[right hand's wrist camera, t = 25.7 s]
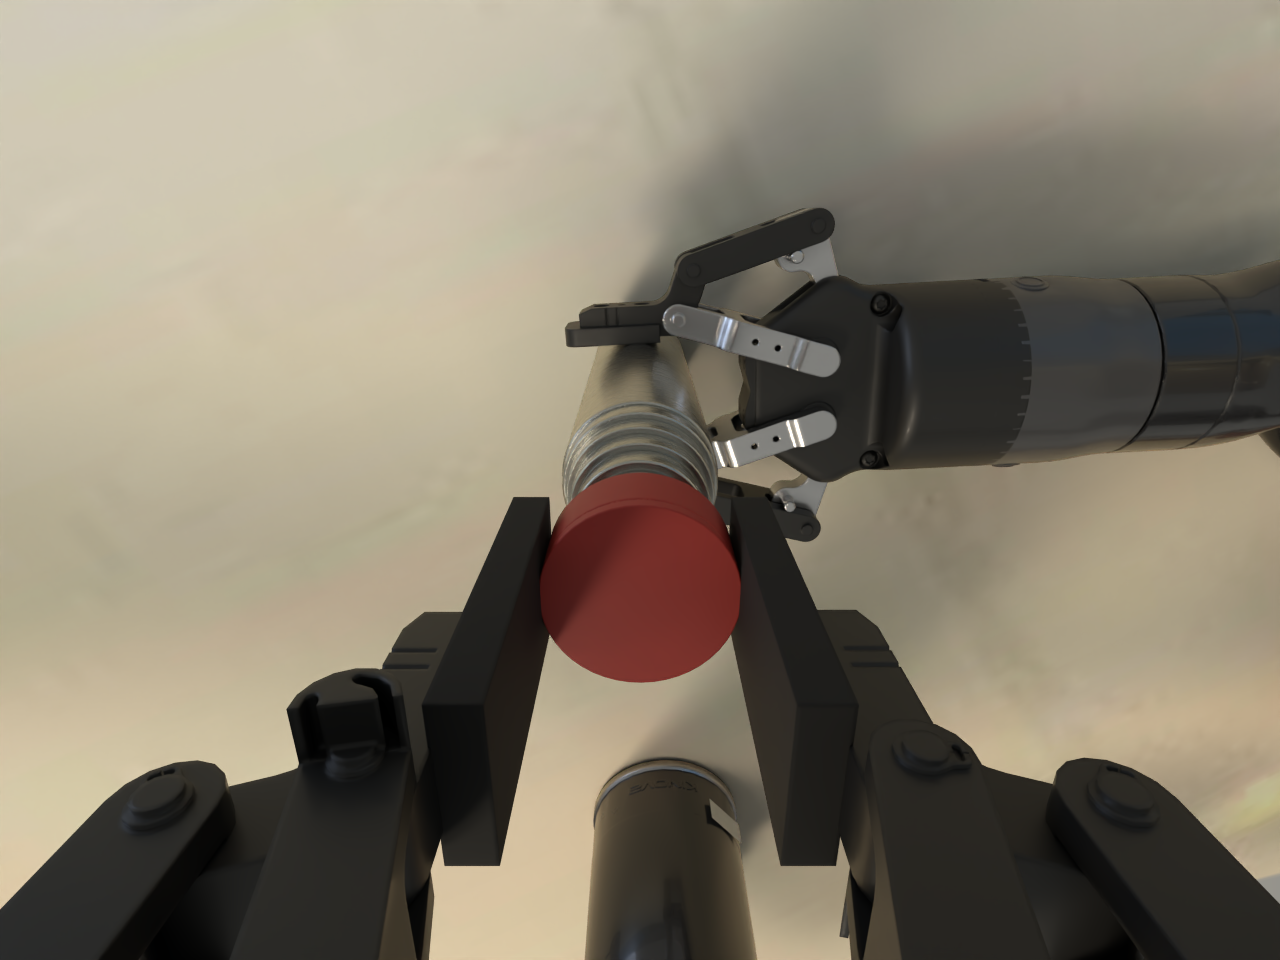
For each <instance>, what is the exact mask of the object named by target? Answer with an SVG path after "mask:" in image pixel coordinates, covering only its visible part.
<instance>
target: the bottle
mask: <svg viewBox="0 0 1280 960" xmlns="http://www.w3.org/2000/svg"><path fill="white" fill-rule="evenodd" d="M626 473H653V474H659V475H665V476H668V477H671V478H674V479H677V480H679V481H681V482H684V483H686V484H688V485H689V486H691V487H693V488H694V489H696V490H698V491H699V492H700V493H701V494H702V495H704V496H705V497H706V498H707V499H708V500H709V501H710V502H711V503H712V504H713V505H714V504H715V501H716V497H717V490H718V466H717V460H716V456H715V452H714V449H713V446H712V442H711V439H710V436H709V433H708V430H707V426H706V423H705V420H704V417H703V414H702V410H701V407H700V404H699V401H698V398H697V394H696V391H695V388H694V385H693V382H692V378H691V375H690V372H689V369H688V366H687V362H686V359H685V356H684V353H683V350H682V346H681V343H680V341H679V339H678V337H677V336H660V343H648V344H629V345H609V346H599V347H598V350H597V353H596V356H595V360H594V363H593V366H592V369H591V372H590V376H589V379H588V382H587V385H586V389H585V392H584V395H583V398H582V401H581V405H580V408H579V411H578V414H577V418H576V421H575V424H574V427H573V430H572V434H571V437H570V440H569V443H568V447H567V450H566V453H565V456H564V462H563V473H562V476H563V484H562V486H563V495H564V499H565V504H566V506H567V505H568V504H569V503H570V502H571V500H572V499H573V498H575V497H576V496H577V495H578V494H579V493H580V492H582V491H583V490H585V489H586V488H588V487H589V486H591V485H593V484H595V483H597V482H599V481H601V480H603V479H606V478H609V477H612V476H616V475H621V474H626Z"/></svg>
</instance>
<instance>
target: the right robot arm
mask: <svg viewBox="0 0 1280 960" xmlns="http://www.w3.org/2000/svg"><path fill="white" fill-rule="evenodd" d="M729 536H730V540H731V543H732V547H733V550H734V554H735V558H736V561H737V565H738V568H739V572H740V577H741V590H740V606H739V617H738V621H737V623H736V625H735V627H734V630H733V631H732V633H731V636H732V641H733V646H734V650H735V655H736V660H737V664H738V669H739V674H740V678H741V683H742V688H743V692H744V697H745V702H746V706H747V711H748V716H749V720H750V725H751V730H752V734H753V739H754V744H755V748H756V753H757V758H758V762H759V767H760V772H761V776H762V781H763V786H764V790H765V795H766V800H767V804H768V809H769V814H770V818H771V823H772V828H773V832H774V837H775V841H776V846H777V851H778V855H779V860H780V865H781V866H836V862H837V855H838V848H839V841H840V837H841V840H842V843H843V846H844V850H845V853H846V856H847V859H848V862H849V865H850V871H849V877H848V884H847V890H846V897H845V903H844V910H843V916H842V923H841V930H840V937H845V938H848V936H849V938H850V949H851V960H1280V904H1279V903H1278V902H1277V901H1276V900H1275V899H1274V898H1273V897H1272V896H1271V895H1270V893H1269V892H1268V891H1267V890H1266V889H1265V888H1264V887H1263V886H1262V885H1261V884H1260V883H1259V882H1258V881H1257V880H1256V879H1255V878H1254V877H1253V876H1252V875H1251V874H1250V873H1249V872H1248V871H1247V870H1246V869H1245V868H1244V867H1243V866H1242V865H1241V864H1240V863H1239V862H1238V861H1237V860H1236V859H1235V858H1234V856H1233V855H1232V854H1231V853H1230V852H1229V851H1228V850H1227V849H1226V848H1225V847H1224V846H1223V845H1222V844H1221V843H1220V842H1219V841H1218V840H1217V839H1216V838H1215V837H1214V836H1213V835H1212V834H1211V833H1210V832H1209V831H1208V830H1207V829H1206V828H1205V827H1204V826H1203V825H1202V824H1201V823H1200V822H1199V820H1198V819H1197V818H1196V817H1195V816H1194V815H1193V814H1192V813H1191V812H1190V811H1189V810H1188V809H1187V808H1186V807H1185V806H1184V805H1183V804H1182V803H1181V802H1180V801H1179V800H1178V799H1177V798H1176V797H1175V796H1173V795H1172V794H1171V793H1170V792H1169V791H1167V790H1166V789H1165V788H1164V787H1162V786H1161V785H1160V784H1159V783H1158V782H1156V781H1154V780H1152V779H1151V778H1149V777H1147V776H1145V775H1143V774H1141V773H1140V772H1138V771H1136V770H1134V769H1132V768H1129V767H1126V766H1123V765H1120V764H1117V763H1114V762H1111V761H1108V760H1101V759H1091V758H1080V759H1076V760H1071V761H1066V762H1065V763H1064V764H1063V765H1062V766H1061V767H1060V768H1059V769H1058V770H1057V772H1056V775H1055V779H1054V782H1053V784H1050V783H1046V782H1042V781H1037V780H1033V779H1029V778H1025V777H1021V776H1016V775H1012V774H1008V773H1004V772H1001V771H998V770H995V769H991V768H988V767H986V766H984V765H982V764H981V762H980V761H979V759H978V757H977V756H976V754H975V753H974V751H973V749H972V748H971V747H970V746H969V745H968V744H967V743H965V742H964V741H963V740H962V739H961V738H959V737H958V736H957V735H956V734H954V733H952V732H950V731H948V730H946V729H944V728H942V727H940V726H938V725H936V724H933V722H932V720H931V719H930V717H929V715H928V714H927V712H926V710H925V708H924V707H923V705H922V703H921V701H920V700H919V698H918V696H917V694H916V693H915V691H914V689H913V687H912V686H911V684H910V682H909V680H908V679H907V677H906V675H905V673H904V672H903V670H902V668H901V667H899V666H898V661H897V659H896V658H895V656H894V654H893V652H892V651H891V650H889V645H888V644H887V642H886V640H885V638H884V637H883V635H882V633H881V632H880V630H879V628H878V627H877V626H876V625H875V624H874V623H872V622H871V621H870V620H868V619H867V618H866V617H865V616H863V615H862V614H861V613H859V612H858V611H857V610H817V609H816V606H815V604H814V602H813V600H812V597H811V595H810V593H809V591H808V588H807V586H806V584H805V582H804V579H803V577H802V575H801V573H800V570H799V568H798V566H797V564H796V561H795V559H794V557H793V555H792V552H791V550H790V548H789V546H788V543H787V541H786V539H785V537H784V534H783V532H782V530H781V528H780V525H779V523H778V521H777V519H776V516H775V514H774V512H773V510H772V507H771V505H770V503H769V501H768V498H767V497H731V512H730V531H729ZM550 538H551V520H550V501H549V497H513V500H512V502H511V504H510V506H509V509H508V511H507V513H506V515H505V518H504V520H503V522H502V524H501V527H500V529H499V531H498V533H497V536H496V538H495V540H494V542H493V545H492V547H491V549H490V551H489V554H488V556H487V558H486V561H485V563H484V565H483V567H482V570H481V572H480V574H479V576H478V579H477V581H476V583H475V585H474V588H473V590H472V592H471V594H470V597H469V599H468V601H467V603H466V606H465V608H464V610H463V612H424V613H423V614H421V615H420V616H419V617H418V618H416V619H415V620H414V621H413V622H411V623H410V624H409V625H407V626H406V627H405V628H404V629H403V630H402V632H401V633H400V635H399V637H398V639H397V641H396V642H395V644H394V646H393V648H392V652H391V653H389V655H388V656H387V658H386V660H385V662H384V663H383V668H382V669H380V670H379V669H357V668H356V669H351V670H347V671H342V672H338V673H334V674H331V675H329V676H327V677H325V678H322V679H320V680H318V681H316V682H313V683H312V684H311V685H309V686H308V687H307V688H305V689H304V690H303V691H301V692H300V693H299V694H297V695H296V697H295V698H294V699H293V701H292V702H291V704H290V705H289V706H288V708H287V714H288V718H289V722H290V727H291V731H292V735H293V739H294V744H295V748H296V752H297V757H298V761H299V766H298V768H297V769H294V770H292V771H288V772H285V773H282V774H279V775H276V776H272V777H267V778H263V779H259V780H255V781H250V782H246V783H242V784H238V785H234V786H229V787H228V783H227V780H226V776H225V773H224V772H223V771H222V770H220V769H219V768H218V767H217V766H216V765H215V764H212V763H207V762H203V761H198V760H197V761H187V762H178V763H173V764H170V765H167V766H164V767H161V768H158V769H155V770H152V771H149V772H147V773H145V774H144V775H142V776H140V777H138V778H136V779H134V780H132V781H131V782H129V783H127V784H125V785H124V786H123V787H122V788H120V789H119V790H118V791H117V792H115V793H114V794H113V795H112V796H111V797H109V798H108V799H107V800H106V801H105V802H104V803H103V804H102V805H101V806H100V807H99V808H98V809H97V810H96V811H95V812H94V813H93V814H92V815H91V816H90V817H89V818H88V819H87V820H86V821H85V822H84V823H83V824H82V825H81V826H80V827H79V828H78V829H77V831H76V832H75V833H74V834H73V835H72V836H71V837H70V838H69V839H68V840H67V841H66V842H65V843H64V844H63V845H62V846H61V847H60V848H59V849H58V850H57V851H56V852H55V853H54V854H53V855H52V856H51V857H50V858H49V860H48V861H47V862H46V863H45V864H44V865H43V866H42V867H41V868H40V869H39V870H38V871H37V872H36V873H35V874H34V875H33V876H32V877H31V878H30V879H29V880H28V881H27V882H26V883H25V884H24V885H23V886H22V887H21V889H20V890H19V891H18V892H17V893H16V894H15V895H14V896H13V897H12V898H11V899H10V900H9V901H8V902H7V903H6V904H5V905H4V906H3V907H2V908H1V909H0V960H429V950H430V939H431V928H432V917H433V906H434V891H433V884H432V877H431V871H430V870H431V867H432V864H433V861H434V858H435V855H436V852H437V848H438V845H439V842H440V839H441V844H442V851H443V858H444V865H445V866H500V863H501V858H502V853H503V849H504V844H505V839H506V835H507V830H508V825H509V821H510V816H511V811H512V807H513V802H514V797H515V793H516V788H517V783H518V779H519V774H520V769H521V765H522V760H523V755H524V751H525V746H526V741H527V737H528V732H529V727H530V723H531V718H532V713H533V709H534V704H535V699H536V695H537V690H538V685H539V681H540V676H541V671H542V667H543V662H544V657H545V653H546V648H547V643H548V639H549V632H548V630H547V628H546V626H545V624H544V622H543V619H542V612H541V597H540V574H541V571H542V567H543V563H544V560H545V556H546V553H547V549H548V545H549V542H550Z"/></svg>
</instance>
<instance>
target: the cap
mask: <svg viewBox="0 0 1280 960" xmlns="http://www.w3.org/2000/svg"><path fill="white" fill-rule="evenodd" d="M740 590H741V577H740V572H739V568H738V565H737V561H736V558H735V554H734V550H733V547H732V543H731V540H730V536H729V533H728V530H727V527H726V524H725V523H724V521H723V519H722V517H721V515H720V513H719V512H718V511H717V509H716V508H715V506H714V505H713V504H712V503H711V502H710V501H709V500H708V499H707V498H706V497H705V496H704V495H702V494H701V493H700V492H699V491H698V490H696V489H694V488H693V487H691V486H689V485H688V484H686V483H684V482H681V481H679V480H677V479H674V478H671V477H668V476H665V475H659V474H653V473H626V474H621V475H616V476H612V477H609V478H606V479H603V480H601V481H599V482H597V483H595V484H593V485H591V486H589V487H588V488H586V489H585V490H583V491H582V492H580V493H579V494H578V495H577V496H576V497H575V498H573V499H572V500H571V502H570V503H569V504H568V505H567V506H566V507H565V508H564V510H563V511H562V513H561V514H560V516H559V517H558V520H557V522H556V524H555V526H554V528H553V532H552V535H551V538H550V542H549V545H548V549H547V553H546V556H545V560H544V563H543V567H542V571H541V574H540V597H541V612H542V619H543V622H544V624H545V626H546V628H547V630H548V632H549V634H550V636H551V637H552V639H553V640H554V642H555V643H556V644H557V645H558V646H559V648H560V649H561V650H562V651H563V652H564V653H565V654H566V655H567V656H568V657H570V658H571V659H572V660H573V661H575V662H576V663H577V664H579V665H580V666H582V667H584V668H586V669H587V670H589V671H591V672H593V673H596V674H598V675H601V676H603V677H607V678H611V679H614V680H619V681H626V682H641V683H642V682H655V681H661V680H667V679H670V678H674V677H677V676H680V675H682V674H685V673H687V672H689V671H691V670H693V669H695V668H697V667H699V666H700V665H702V664H703V663H705V662H706V661H707V660H709V659H710V658H711V657H712V656H713V655H714V654H715V653H717V652H718V651H719V650H720V648H721V647H722V646H723V645H724V644H725V642H726V641H727V640H728V638H729V636H730V635H731V633H732V631H733V630H734V627H735V625H736V623H737V621H738V617H739V606H740Z"/></svg>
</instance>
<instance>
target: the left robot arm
mask: <svg viewBox="0 0 1280 960" xmlns="http://www.w3.org/2000/svg"><path fill="white" fill-rule="evenodd" d="M834 227H835V221H834V218H833V215H832V214H831V213H830V212H829V211H828V210H826V209H823V208H804V209H799V210H797V211H794V212H791V213H788V214H786V215H783V216H780V217H778V218H775V219H772V220H769V221H767V222H764V223H761V224H758V225H756V226H753V227H750V228H748V229H745V230H742V231H739V232H737V233H734V234H731V235H728V236H726V237H723V238H720V239H718V240H715V241H712V242H709V243H707V244H704V245H701V246H698V247H696V248H693V249H690V250H688V251H685V252H683V253H681V254H680V255H679V256H678V257H677V259H676V261H675V265H674V268H675V269H674V272H673V276H672V279H671V282H670V285H669V288H668V290H667V292H666V293H665V295H664V296H663V297H661V298H660V299H658V300H655V301H644V302H625V303H609V304H607V303H606V304H593V305H591V306H589V307H587V308H585V309H583V310H582V311H581V312H580V314H579V320H580V321H575V322H570V323H568V324H567V326H566V327H565V334H566V345H567V346H568V347H590V346H609V345H629V344H648V343H660V336H677V337H681V338H685V339H689V340H693V341H696V342H700V343H704V344H708V345H712V346H715V347H718V348H720V349H722V350H724V351H727V352H731V353H735V354H738V355H739V365H740V369H741V372H742V376H743V385H742V388H741V392H740V396H739V410H738V411H735V412H732V413H729V414H726V415H724V416H721V417H719V418H717V419H715V420H714V421H713V422H712V423H710V424H708V425H706V426H707V430H708V433H709V436H710V439H711V442H712V446H713V449H714V452H715V456H716V460H717V466H718V469H720V468H723V467H730V468H734V467H739V466H742V465H745V464H748V463H751V462H754V461H757V460H760V459H763V458H766V457H769V456H771V455H774V456H776V457H777V458H779V459H780V460H782V461H783V462H785V463H786V464H788V465H790V466H791V467H793V468H794V469H796V470H797V471H799V472H800V473H801V475H800V476H799V477H797V478H796V479H794V480H781V481H777V482H776V483H774V484H773V485H772V486H771V488H765V487H761V486H756V485H752V484H747V483H743V482H739V481H734V480H730V479H725V478H721V477H718V490H717V497H716V501H715V504H714V506H715V508H716V509H717V511H718V512H719V513H720V515H721V517H722V519H723V521H724V523H725V524H726V525H729V526H730V512H731V497H767V498H768V501H769V503H770V505H771V507H772V510H773V512H774V514H775V516H776V519H777V521H778V523H779V525H780V528H781V530H782V532H783V534H784V537H785V538H789V539H794V540H798V541H803V542H808V541H811V540H814V539H815V538H816V537H817V536H818V535H819V533H820V530H821V526H820V523H819V521H818V519H817V518H816V513H817V510H818V507H819V505H820V502H821V499H822V496H823V494H824V491H825V488H826V485H827V483H828V482H833V481H836V480H838V479H840V478H842V477H844V476H845V475H847V474H849V473H852V472H855V471H858V470H864V469H872V470H894V469H915V468H936V467H956V466H976V465H992V466H996V467H1010V466H1013V465H1018V464H1020V463H1038V462H1050V461H1057V460H1063V459H1069V458H1074V457H1079V456H1085V455H1091V454H1100V453H1119V452H1139V451H1160V450H1174V449H1187V448H1199V447H1205V446H1211V445H1217V444H1222V443H1227V442H1231V441H1236V440H1239V439H1243V438H1246V437H1250V436H1253V435H1256V434H1258V435H1259V436H1260V437H1261V438H1262V439H1263V441H1264V442H1265V443H1266V444H1267V445H1268V446H1269V447H1270V449H1271V450H1273V451H1274V452H1275V453H1276V454H1277V455H1278V456H1279V457H1280V260H1277V261H1273V262H1269V263H1266V264H1262V265H1258V266H1255V267H1251V268H1247V269H1244V270H1239V271H1234V272H1229V273H1223V274H1216V275H1172V276H1153V277H1134V278H1116V279H1092V278H1081V277H1070V276H1031V277H1013V278H996V279H974V280H956V281H937V282H919V283H900V284H881V285H863V284H858V283H856V282H855V281H853V280H851V279H849V278H847V277H844V276H841V275H839V274H838V270H837V266H836V262H835V257H834V253H833V249H832V245H831V240H830V236H831V235H832V233H833V231H834ZM771 260H774V261H775V263H776V265H777V266H778V267H779V268H781V269H783V270H785V271H788V272H797V271H804V272H805V273H806V274H807V275H808V276H809V278H810V281H809V282H808V283H806V284H805V285H804V286H803V287H801V288H800V289H799V290H798V291H796V292H795V293H794V294H792V295H791V296H790V297H789V298H787V299H786V300H785V301H783V302H782V303H781V304H780V305H778V306H777V307H776V308H774V309H773V310H772V311H771V312H769V313H768V314H767V315H765V316H764V317H763V318H759V317H755V316H752V315H748V314H744V313H740V312H737V311H733V310H729V309H725V308H717V307H713V306H710V305H706V304H702V303H699V302H700V299H701V296H702V293H703V290H704V287H705V284H707V283H710V282H713V281H716V280H719V279H721V278H724V277H727V276H730V275H733V274H735V273H738V272H741V271H744V270H746V269H749V268H752V267H755V266H758V265H760V264H763V263H766V262H769V261H771ZM742 424H743V425H742ZM752 444H755V445H753V446H752ZM739 842H740V843H742V841H741V835H740V830H739V824H737V815H736V809H735V804H734V800H733V797H732V795H731V793H730V791H729V790H728V788H727V787H726V785H725V784H724V783H723V782H722V781H721V780H720V779H719V778H718V777H717V776H715V775H714V774H712V773H711V772H709V771H708V770H706V769H704V768H702V767H699V766H697V765H694V764H691V763H687V762H682V761H674V760H657V761H650V762H645V763H641V764H638V765H635V766H632V767H630V768H628V769H626V770H624V771H622V772H620V773H619V774H617V775H616V776H615V777H613V778H612V779H611V780H610V781H609V782H608V783H607V784H606V785H605V786H604V787H603V789H602V790H601V792H600V794H599V796H598V798H597V801H596V804H595V810H594V843H593V857H592V866H591V880H590V894H589V908H588V922H587V935H586V949H585V960H757V955H756V948H755V942H754V935H753V929H752V922H751V916H750V910H749V903H748V897H747V890H746V884H745V877H744V871H743V865H742V857H741V850H740V844H739Z"/></svg>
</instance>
